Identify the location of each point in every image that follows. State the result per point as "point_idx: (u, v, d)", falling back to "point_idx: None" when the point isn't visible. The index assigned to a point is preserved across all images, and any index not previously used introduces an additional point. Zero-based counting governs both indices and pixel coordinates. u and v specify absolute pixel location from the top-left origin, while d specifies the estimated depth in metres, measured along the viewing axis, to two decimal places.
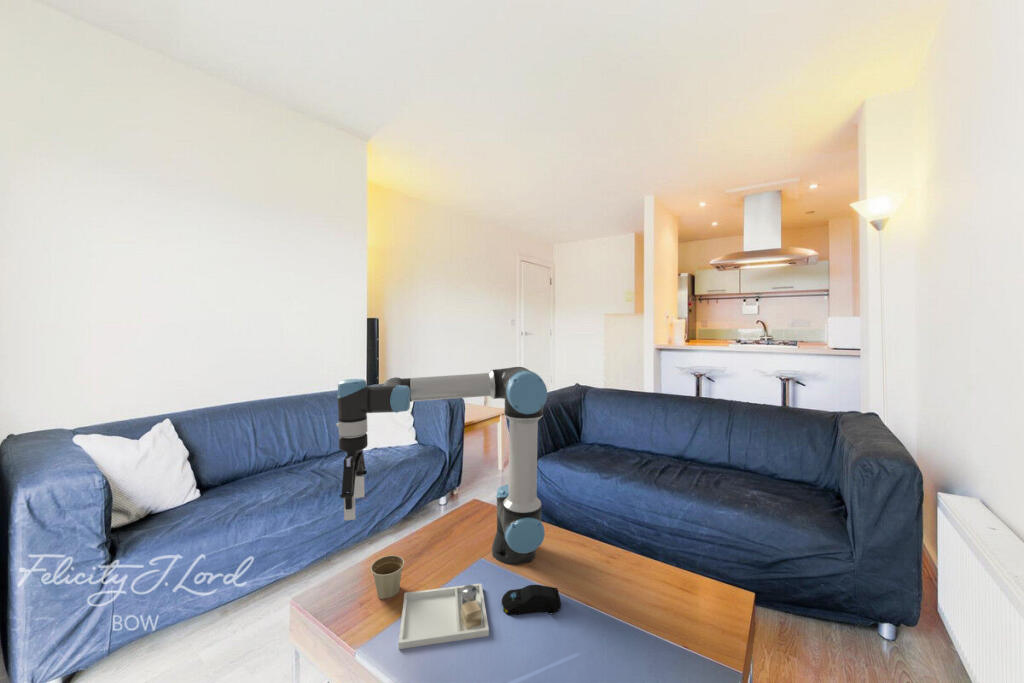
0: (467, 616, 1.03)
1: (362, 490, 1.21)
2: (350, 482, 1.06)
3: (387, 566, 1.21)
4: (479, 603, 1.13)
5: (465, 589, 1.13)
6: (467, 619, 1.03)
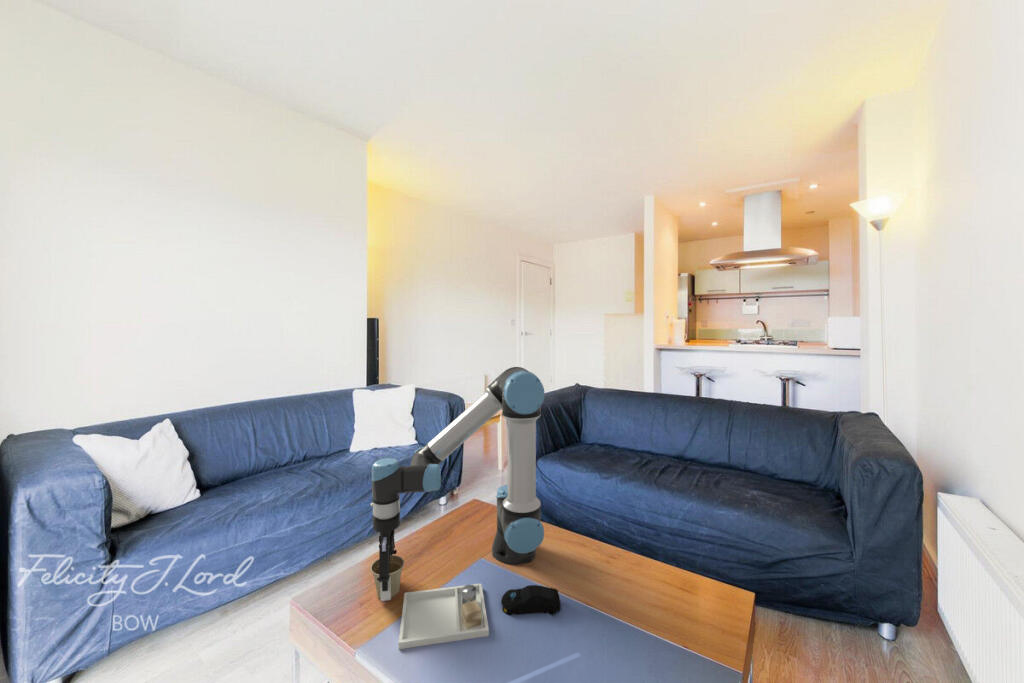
0: (467, 616, 1.03)
1: None
2: (386, 567, 1.10)
3: None
4: (479, 603, 1.13)
5: (465, 589, 1.13)
6: (467, 619, 1.03)
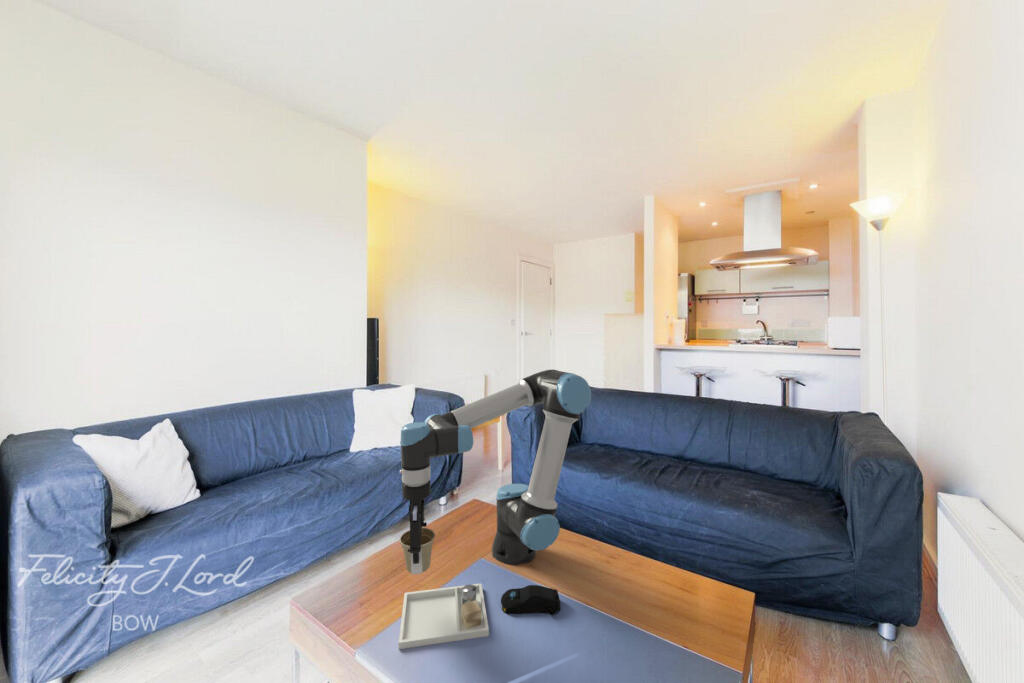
0: (467, 616, 1.03)
1: None
2: (418, 537, 1.01)
3: None
4: (479, 603, 1.13)
5: (465, 589, 1.13)
6: (467, 619, 1.03)
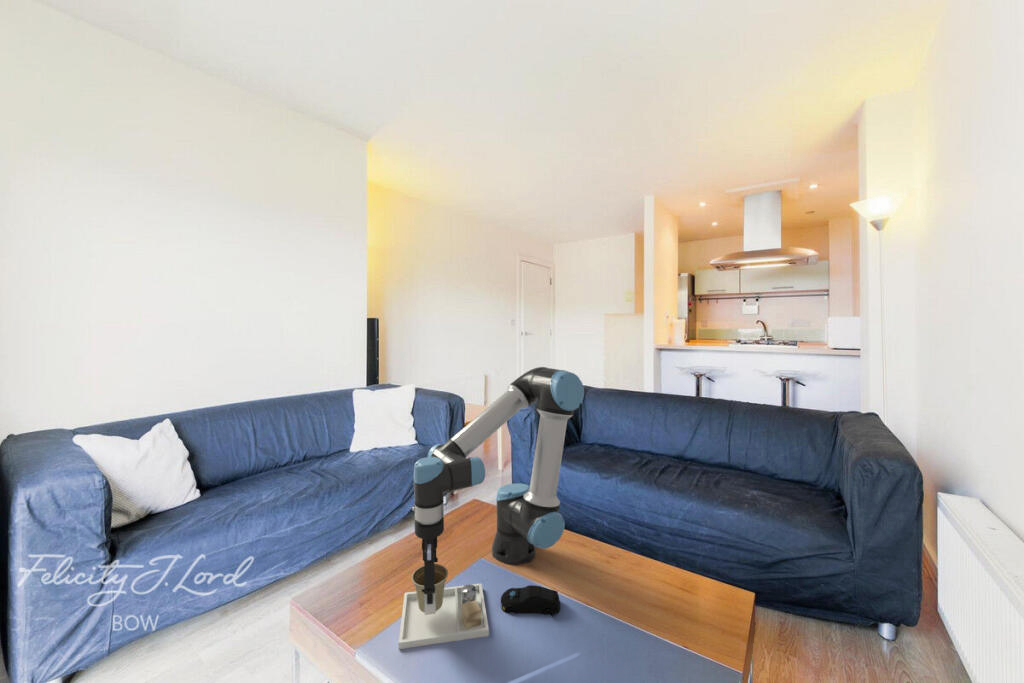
0: (467, 616, 1.03)
1: None
2: (432, 577, 0.99)
3: None
4: (479, 603, 1.13)
5: (464, 589, 1.12)
6: (467, 619, 1.03)
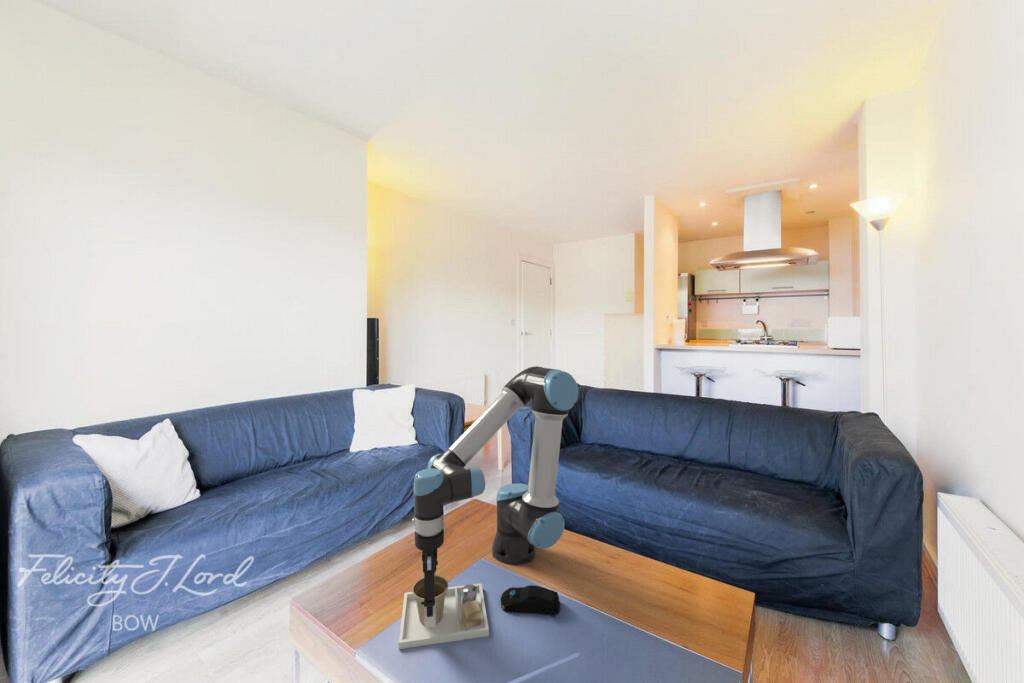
0: (467, 616, 1.03)
1: None
2: (432, 588, 0.98)
3: None
4: (479, 603, 1.13)
5: (466, 589, 1.12)
6: (467, 619, 1.03)
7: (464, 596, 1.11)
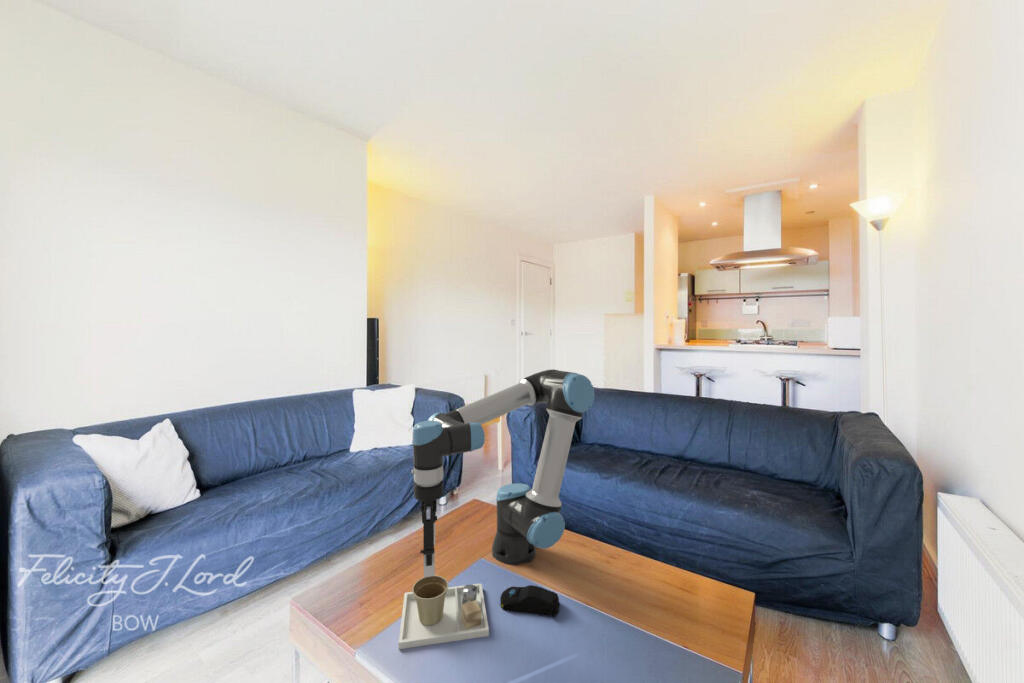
0: (467, 616, 1.03)
1: (433, 538, 1.13)
2: (431, 537, 0.97)
3: (428, 587, 1.11)
4: (479, 603, 1.13)
5: (466, 590, 1.12)
6: (467, 619, 1.03)
7: (465, 597, 1.11)
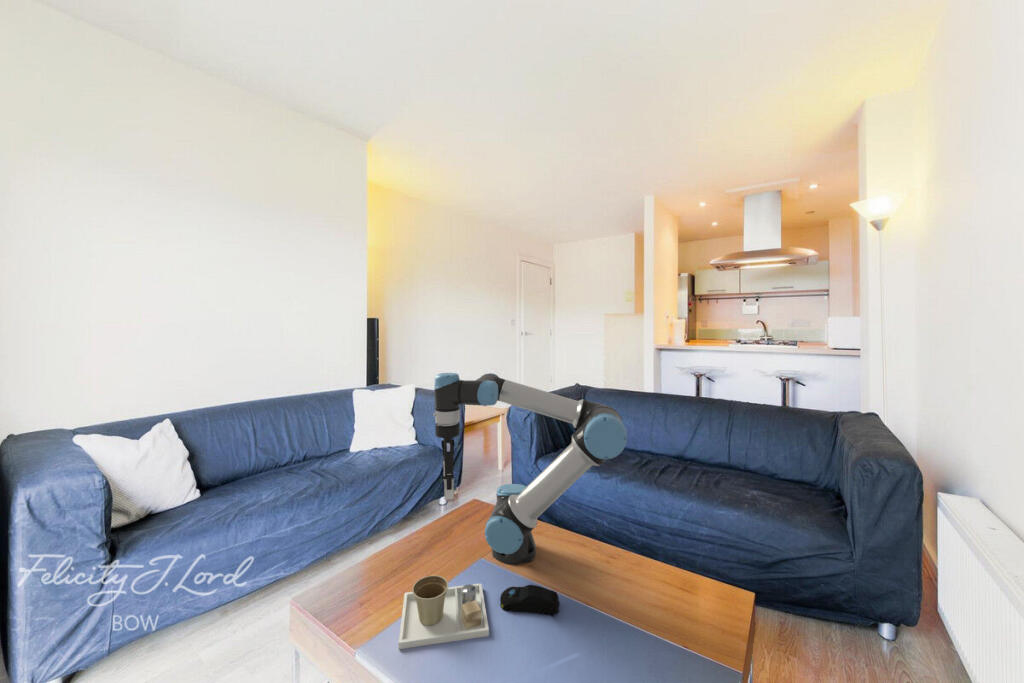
0: (467, 616, 1.03)
1: None
2: (451, 465, 1.17)
3: (428, 587, 1.11)
4: (479, 603, 1.13)
5: (465, 590, 1.12)
6: (467, 619, 1.03)
7: (465, 597, 1.11)
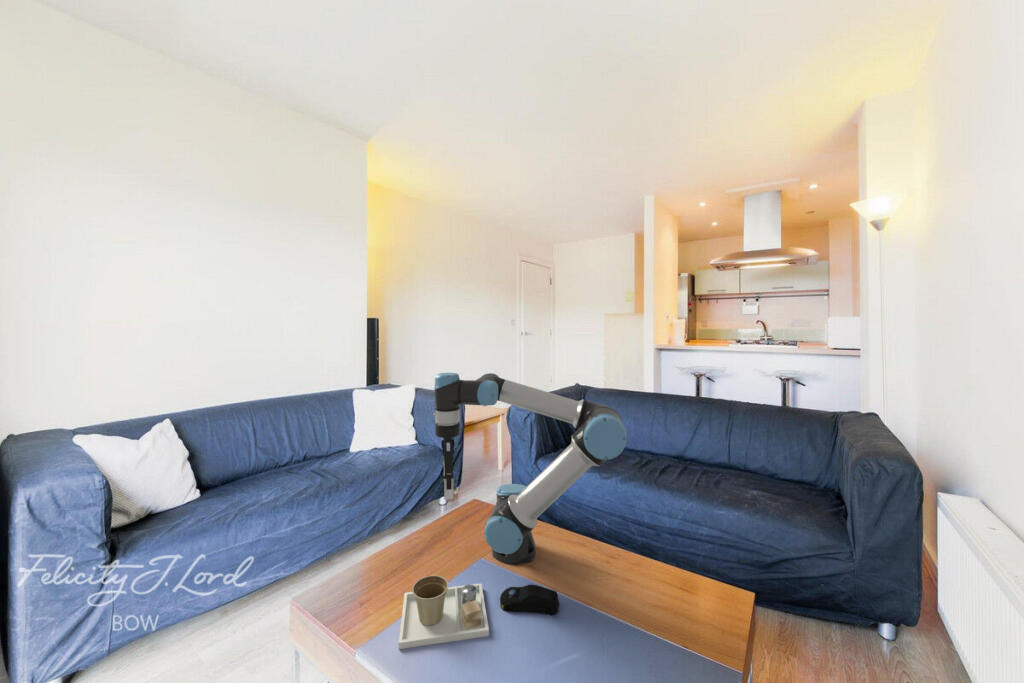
0: (467, 616, 1.03)
1: None
2: (451, 465, 1.17)
3: (428, 587, 1.11)
4: (479, 603, 1.13)
5: (466, 591, 1.12)
6: (467, 619, 1.03)
7: (467, 598, 1.10)
